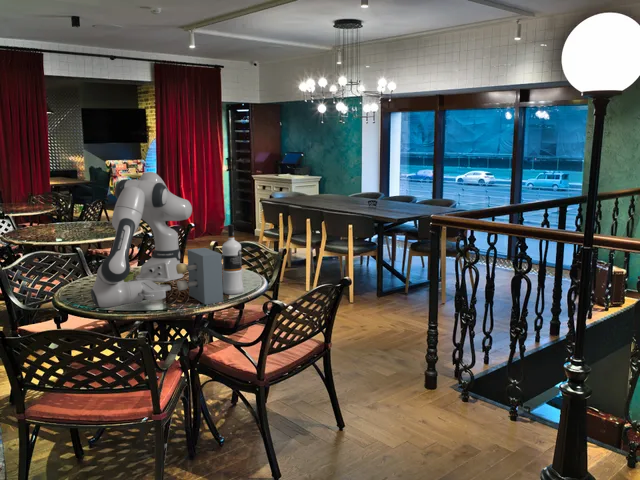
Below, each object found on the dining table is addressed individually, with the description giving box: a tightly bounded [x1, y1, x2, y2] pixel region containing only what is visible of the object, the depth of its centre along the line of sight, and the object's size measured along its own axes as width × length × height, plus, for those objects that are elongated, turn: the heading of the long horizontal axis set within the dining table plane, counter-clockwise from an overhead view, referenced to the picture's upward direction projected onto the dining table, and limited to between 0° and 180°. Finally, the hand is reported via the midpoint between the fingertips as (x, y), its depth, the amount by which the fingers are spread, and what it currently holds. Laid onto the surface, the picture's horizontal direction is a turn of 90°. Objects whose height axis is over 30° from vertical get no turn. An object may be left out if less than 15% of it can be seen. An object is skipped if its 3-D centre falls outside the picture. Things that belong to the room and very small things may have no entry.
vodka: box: [221, 224, 245, 296], centre depth 254 cm, size 9×9×30 cm
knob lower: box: [176, 279, 198, 292], centre depth 243 cm, size 14×4×4 cm, turn 122°
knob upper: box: [176, 263, 197, 274], centre depth 242 cm, size 14×4×4 cm, turn 122°
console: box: [186, 247, 224, 305], centre depth 245 cm, size 8×18×20 cm, turn 32°
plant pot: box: [124, 271, 136, 282], centre depth 256 cm, size 9×9×9 cm
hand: (169, 287), depth 238 cm, fingers closed
